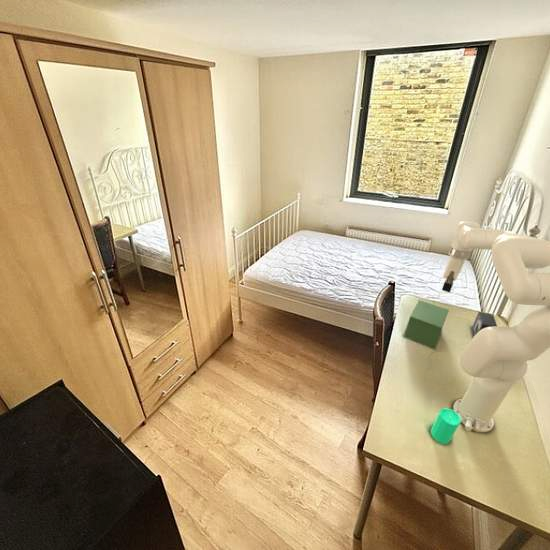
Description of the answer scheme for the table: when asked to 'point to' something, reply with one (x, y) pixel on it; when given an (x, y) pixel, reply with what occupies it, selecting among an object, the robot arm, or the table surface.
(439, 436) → the candle
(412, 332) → the chest
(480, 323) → the small box
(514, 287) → the robot arm
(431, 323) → the lid
